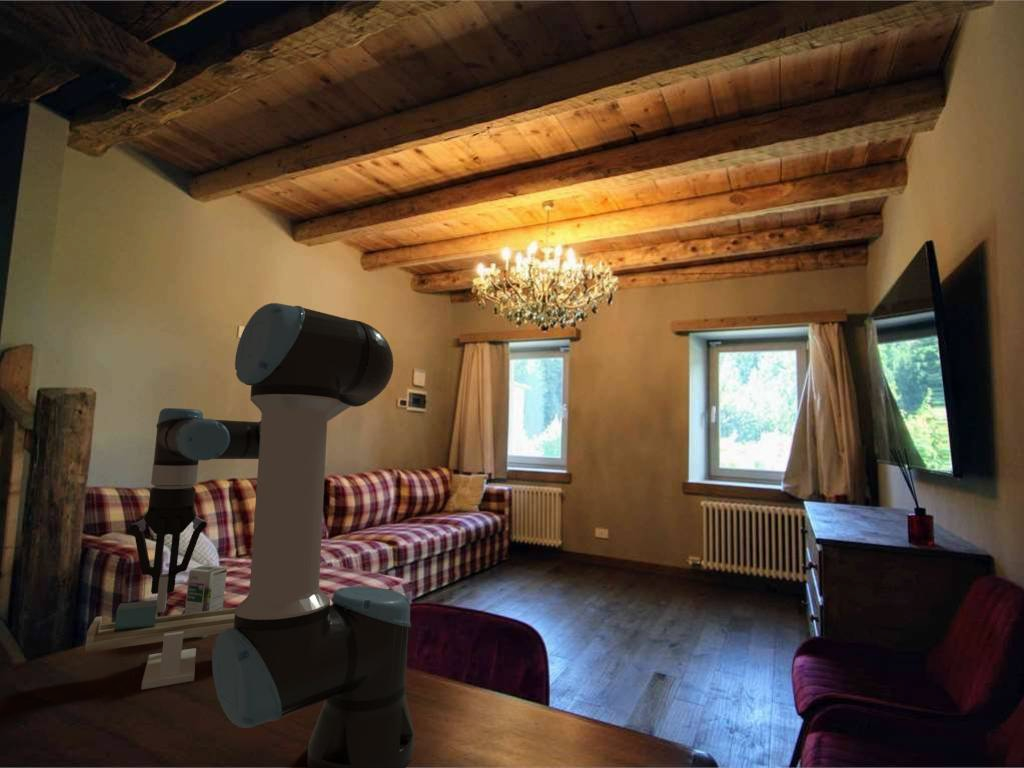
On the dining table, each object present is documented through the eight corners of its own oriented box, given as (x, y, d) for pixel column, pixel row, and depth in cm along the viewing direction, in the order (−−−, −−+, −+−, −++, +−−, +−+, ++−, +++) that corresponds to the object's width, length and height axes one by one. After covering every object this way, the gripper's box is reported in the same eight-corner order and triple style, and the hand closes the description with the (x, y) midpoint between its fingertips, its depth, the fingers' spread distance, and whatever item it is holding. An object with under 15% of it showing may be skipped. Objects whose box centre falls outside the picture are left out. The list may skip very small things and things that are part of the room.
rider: (153, 630, 96) (156, 605, 97) (113, 635, 93) (116, 610, 94) (155, 623, 100) (158, 599, 100) (117, 628, 97) (120, 603, 97)
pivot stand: (193, 680, 95) (198, 632, 96) (141, 689, 91) (147, 639, 92) (195, 654, 106) (199, 611, 107) (148, 660, 102) (153, 616, 103)
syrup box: (180, 636, 115) (187, 569, 117) (200, 626, 121) (207, 563, 122) (202, 638, 114) (209, 571, 116) (221, 629, 120) (228, 565, 121)
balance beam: (249, 645, 102) (252, 611, 103) (82, 671, 89) (86, 632, 89) (246, 630, 109) (249, 598, 110) (92, 652, 96) (96, 616, 97)
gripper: (211, 484, 108) (200, 600, 105) (136, 484, 101) (122, 608, 99) (211, 487, 101) (199, 611, 99) (130, 488, 95) (115, 621, 92)
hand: (160, 610), depth 99 cm, fingers closed
